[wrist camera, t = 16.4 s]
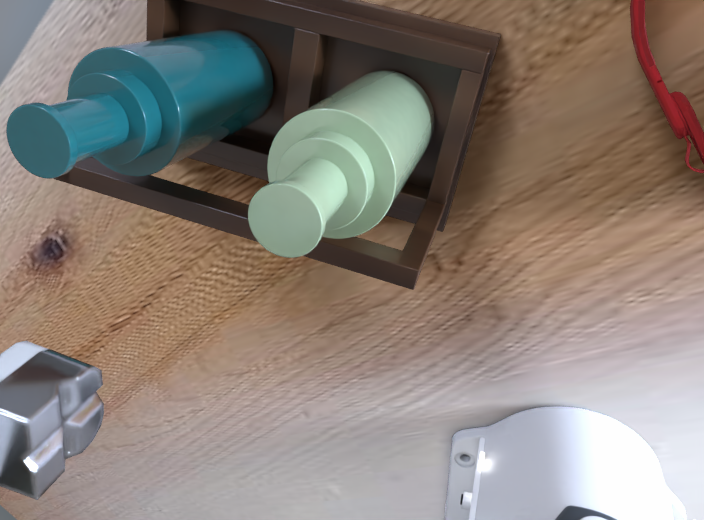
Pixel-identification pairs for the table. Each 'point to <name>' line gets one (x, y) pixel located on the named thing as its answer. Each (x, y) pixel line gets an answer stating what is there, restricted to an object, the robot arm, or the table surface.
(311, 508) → the table surface
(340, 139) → the sage bottle
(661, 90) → the headphones
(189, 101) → the teal bottle
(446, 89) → the rack
